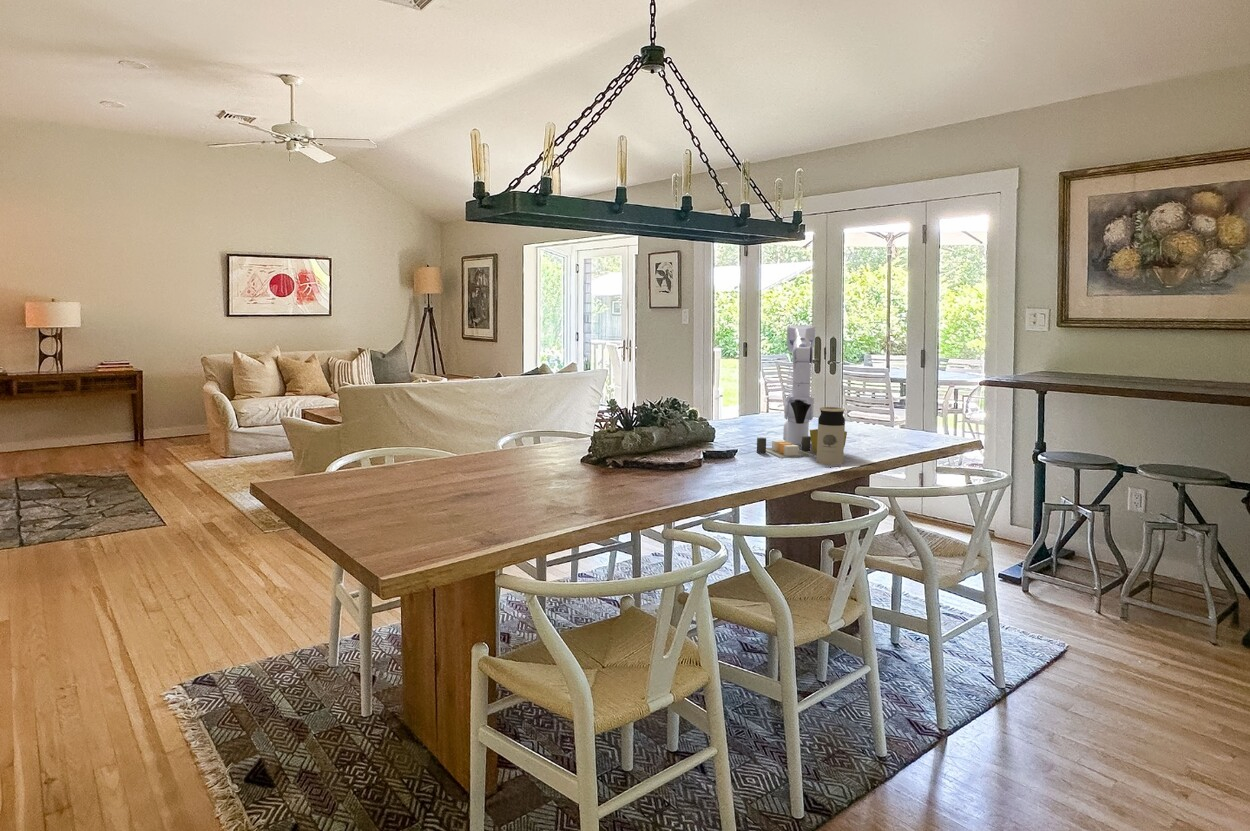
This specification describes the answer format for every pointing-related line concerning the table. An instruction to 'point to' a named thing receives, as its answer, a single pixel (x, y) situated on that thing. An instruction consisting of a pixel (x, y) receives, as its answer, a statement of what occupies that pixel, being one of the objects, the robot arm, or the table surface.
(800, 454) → the panel
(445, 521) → the table surface
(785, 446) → the block
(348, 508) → the table surface
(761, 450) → the cord post
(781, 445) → the block
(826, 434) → the travel mug
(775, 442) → the block
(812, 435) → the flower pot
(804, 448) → the cylinder
